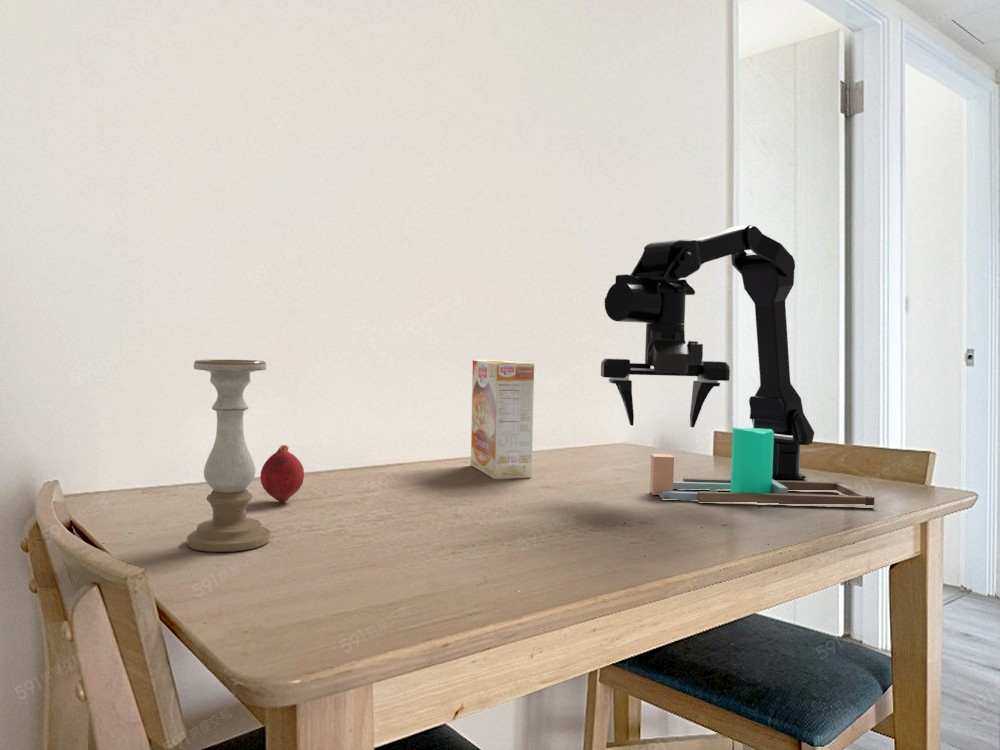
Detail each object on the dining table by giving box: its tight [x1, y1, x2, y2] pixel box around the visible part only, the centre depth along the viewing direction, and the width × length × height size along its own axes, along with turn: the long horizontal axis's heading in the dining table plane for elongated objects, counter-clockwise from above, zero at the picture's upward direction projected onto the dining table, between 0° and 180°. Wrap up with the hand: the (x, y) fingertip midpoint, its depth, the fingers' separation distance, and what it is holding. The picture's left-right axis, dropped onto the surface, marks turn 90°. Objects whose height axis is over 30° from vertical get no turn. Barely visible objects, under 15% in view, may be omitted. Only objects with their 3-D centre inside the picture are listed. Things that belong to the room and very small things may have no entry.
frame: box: [649, 453, 789, 500], centre depth 122 cm, size 10×19×6 cm, turn 88°
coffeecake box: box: [470, 359, 535, 480], centre depth 140 cm, size 15×7×20 cm, turn 17°
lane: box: [682, 477, 875, 506], centre depth 122 cm, size 13×25×2 cm, turn 88°
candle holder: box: [186, 359, 271, 553], centre depth 89 cm, size 9×9×20 cm
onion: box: [260, 444, 305, 503], centre depth 111 cm, size 6×6×8 cm
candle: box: [730, 419, 775, 493], centre depth 122 cm, size 6×6×12 cm
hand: (661, 426), depth 122 cm, fingers open, 9 cm apart
